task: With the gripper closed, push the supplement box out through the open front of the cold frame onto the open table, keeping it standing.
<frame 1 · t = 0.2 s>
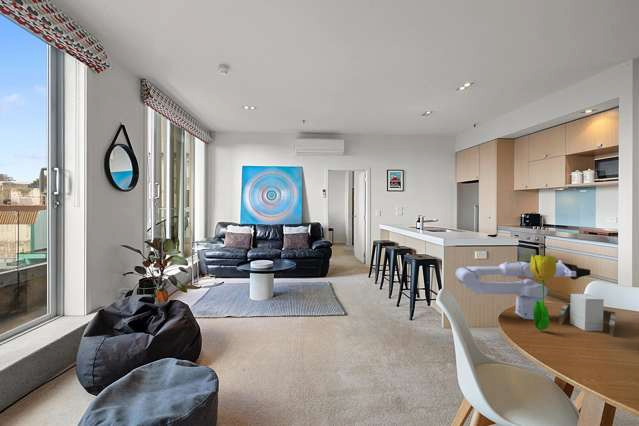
hand: (582, 269, 128), 21 cm above the table, tool horizontal, fingers open, 7 cm apart
flower: (541, 332, 115), on the table
cold frame: (586, 324, 123), on the table
supplement box: (585, 327, 120), on the table
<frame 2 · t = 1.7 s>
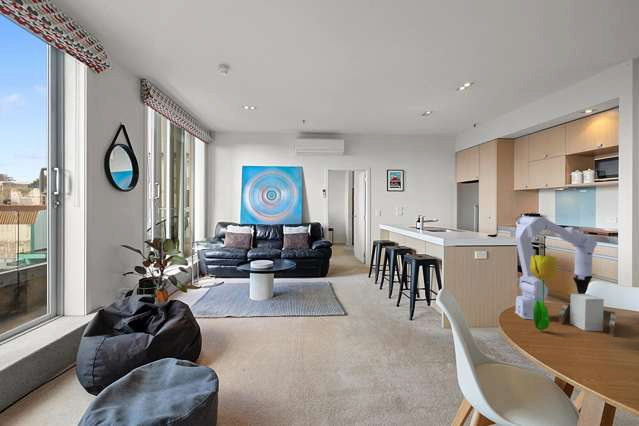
hand: (582, 292, 131), 10 cm above the table, tool pointing down, fingers open, 6 cm apart
nothing on the table moved.
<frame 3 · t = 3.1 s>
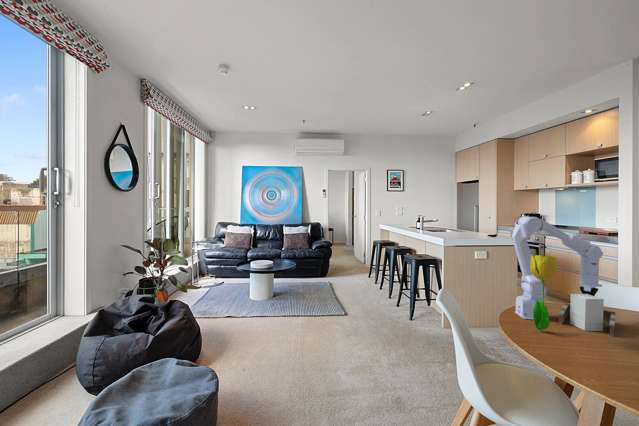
hand: (588, 304, 125), 7 cm above the table, tool pointing down, fingers closed
nothing on the table moved.
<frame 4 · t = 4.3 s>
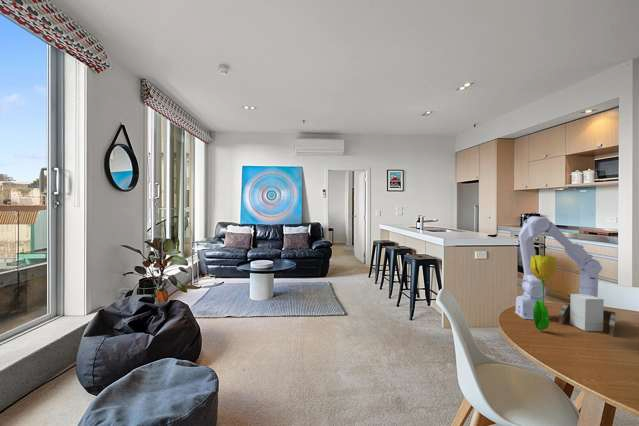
hand: (587, 319, 125), 1 cm above the table, tool pointing down, fingers closed
supplement box: (585, 327, 120), on the table, touching gripper
everything else where it was.
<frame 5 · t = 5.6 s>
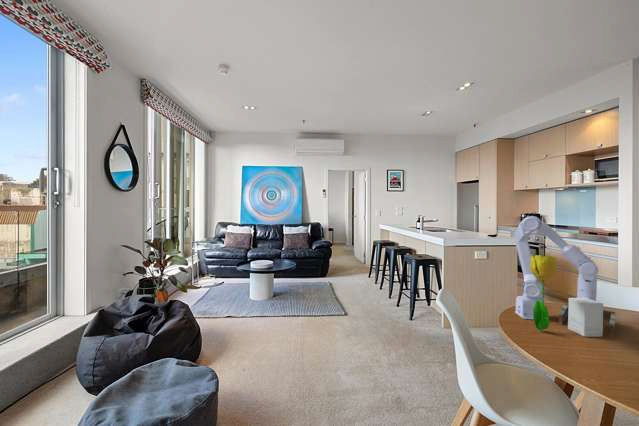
hand: (585, 323, 120), 1 cm above the table, tool pointing down, fingers closed
supplement box: (584, 333, 114), on the table, touching gripper
everything else where it was.
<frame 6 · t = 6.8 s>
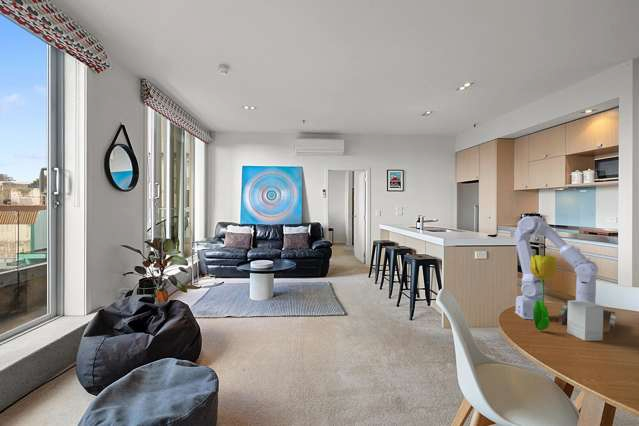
hand: (584, 326, 117), 1 cm above the table, tool pointing down, fingers closed
supplement box: (584, 337, 111), on the table, touching gripper
everything else where it was.
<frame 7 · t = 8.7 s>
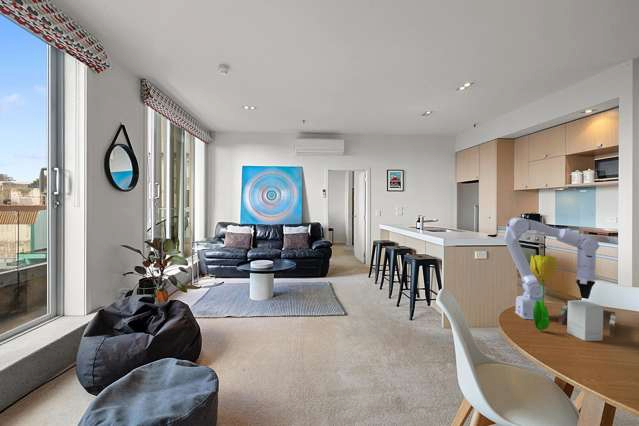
hand: (585, 298, 124), 10 cm above the table, tool pointing down, fingers closed
supplement box: (584, 337, 111), on the table
everything else where it was.
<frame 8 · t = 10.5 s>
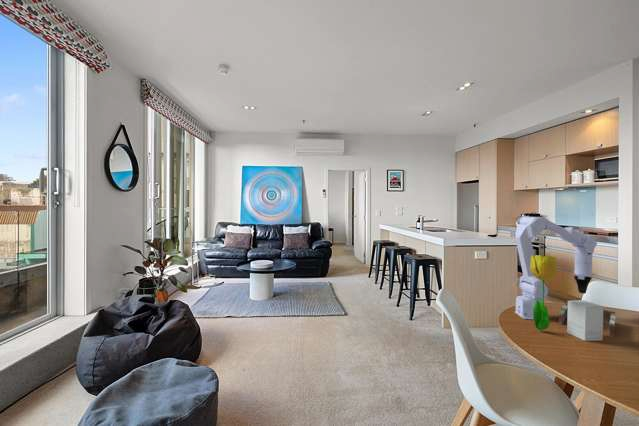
hand: (582, 292, 131), 10 cm above the table, tool pointing down, fingers closed
nothing on the table moved.
at the end: supplement box 1.9 cm from the target spot, on the table; supplement box tilted 0°; supplement box moved 11.9 cm from its start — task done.
